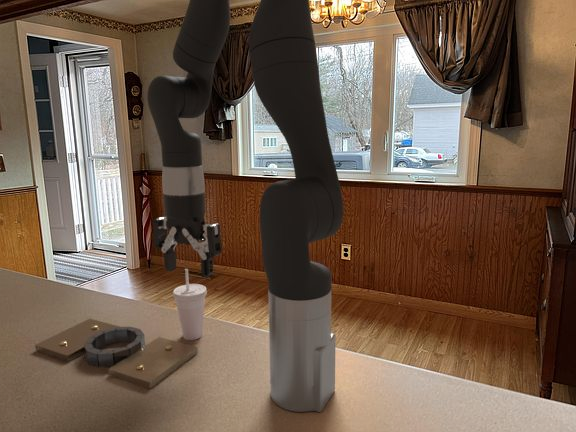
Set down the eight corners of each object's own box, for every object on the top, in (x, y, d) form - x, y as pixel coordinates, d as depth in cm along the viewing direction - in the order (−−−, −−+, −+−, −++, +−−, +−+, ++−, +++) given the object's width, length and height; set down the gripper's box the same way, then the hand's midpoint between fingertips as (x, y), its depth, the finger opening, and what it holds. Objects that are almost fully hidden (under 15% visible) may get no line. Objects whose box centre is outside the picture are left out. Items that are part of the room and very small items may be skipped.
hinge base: (197, 352, 78) (196, 340, 77) (150, 389, 67) (148, 374, 66) (90, 323, 90) (89, 312, 89) (35, 350, 79) (34, 338, 78)
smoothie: (169, 338, 83) (163, 270, 80) (190, 325, 88) (186, 261, 85) (194, 346, 80) (190, 276, 77) (215, 331, 85) (212, 265, 82)
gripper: (227, 190, 78) (230, 273, 82) (167, 185, 84) (172, 262, 88) (202, 196, 72) (207, 286, 75) (139, 190, 78) (146, 274, 81)
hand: (188, 273), depth 82 cm, fingers open, 8 cm apart
